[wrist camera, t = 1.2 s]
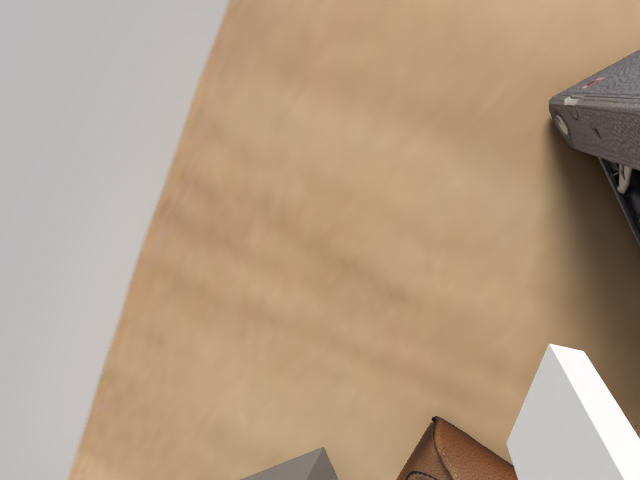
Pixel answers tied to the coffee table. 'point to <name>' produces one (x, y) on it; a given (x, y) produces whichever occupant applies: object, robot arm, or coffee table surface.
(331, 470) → the panel
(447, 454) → the sunglasses case
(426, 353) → the coffee table surface
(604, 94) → the camera
